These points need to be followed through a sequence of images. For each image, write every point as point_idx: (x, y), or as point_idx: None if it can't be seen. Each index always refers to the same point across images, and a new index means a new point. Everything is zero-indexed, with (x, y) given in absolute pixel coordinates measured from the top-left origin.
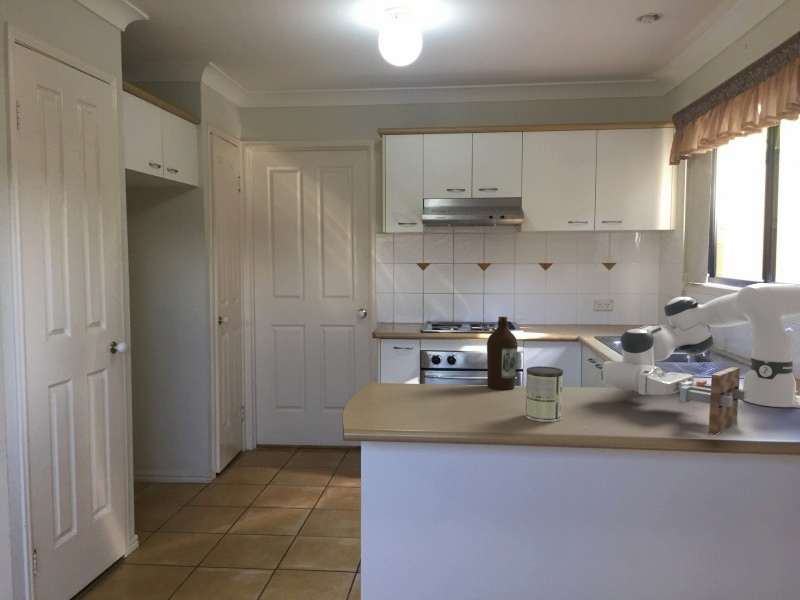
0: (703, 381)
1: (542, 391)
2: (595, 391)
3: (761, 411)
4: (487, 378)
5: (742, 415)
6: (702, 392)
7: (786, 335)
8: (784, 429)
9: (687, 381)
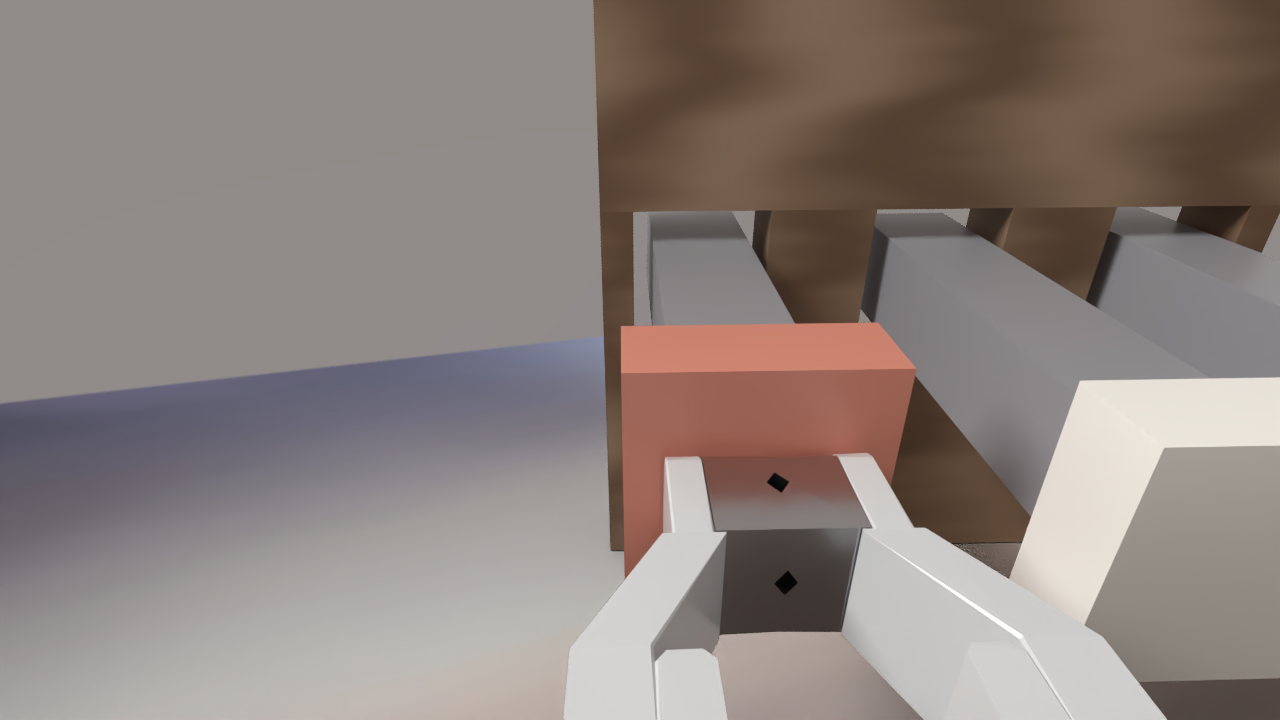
0: (754, 329)
1: None
2: None
3: (23, 506)
4: None
5: (273, 551)
6: (1268, 279)
7: None
8: (551, 360)
9: (699, 659)
